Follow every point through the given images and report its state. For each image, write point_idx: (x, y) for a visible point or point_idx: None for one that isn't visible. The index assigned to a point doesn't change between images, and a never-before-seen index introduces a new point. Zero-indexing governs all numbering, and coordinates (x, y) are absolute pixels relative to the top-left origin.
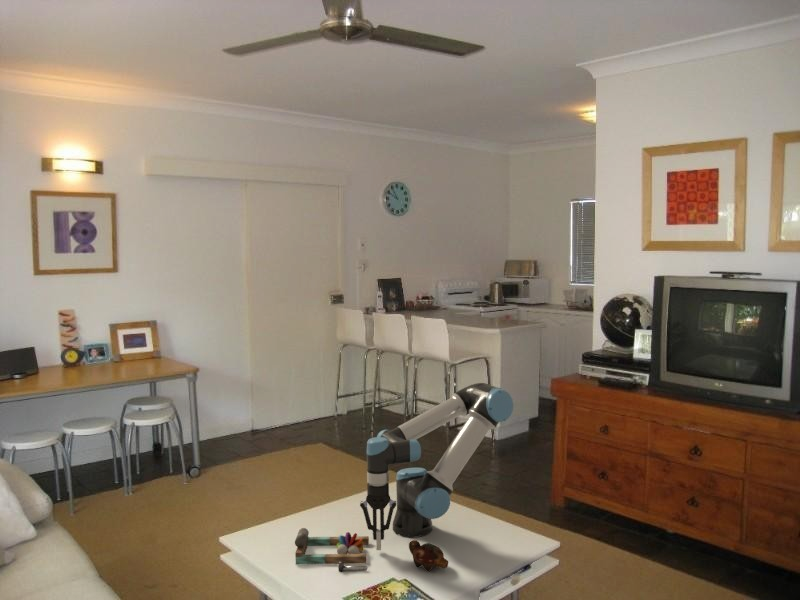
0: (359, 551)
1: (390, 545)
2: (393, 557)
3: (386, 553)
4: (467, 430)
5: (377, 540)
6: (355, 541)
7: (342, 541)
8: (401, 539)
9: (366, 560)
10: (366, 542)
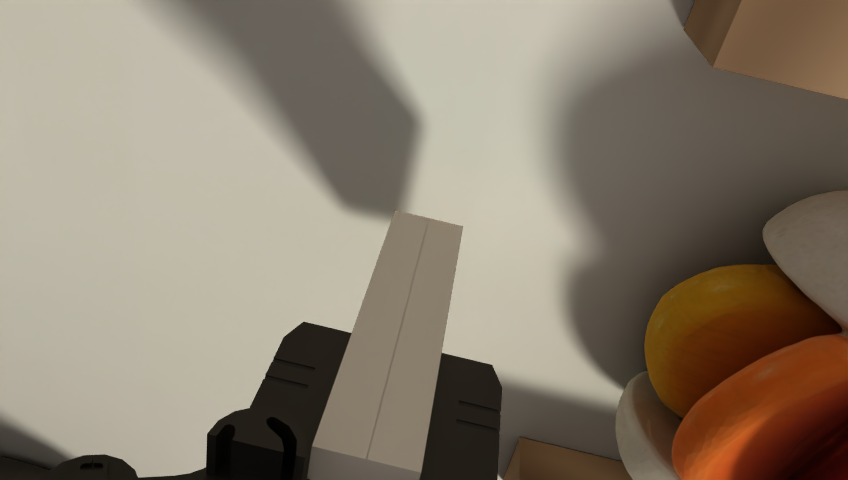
0: (743, 267)
1: (255, 369)
2: (226, 39)
3: (322, 190)
4: None
5: (424, 323)
6: (789, 458)
7: None
8: (130, 449)
9: (687, 26)
10: (544, 473)
